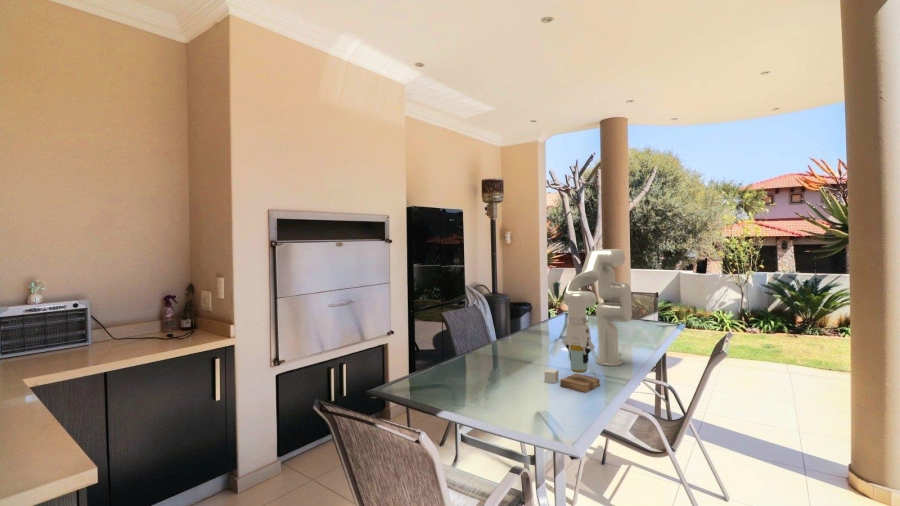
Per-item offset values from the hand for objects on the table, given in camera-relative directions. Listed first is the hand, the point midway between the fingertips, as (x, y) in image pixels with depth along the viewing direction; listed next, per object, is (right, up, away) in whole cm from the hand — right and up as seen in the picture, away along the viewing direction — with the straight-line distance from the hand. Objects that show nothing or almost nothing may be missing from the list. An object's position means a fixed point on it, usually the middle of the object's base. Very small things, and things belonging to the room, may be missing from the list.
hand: (578, 361), depth 182 cm
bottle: (0, -5, 0) cm, 5 cm away
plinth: (0, -11, 0) cm, 11 cm away
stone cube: (-10, -12, +8) cm, 17 cm away
